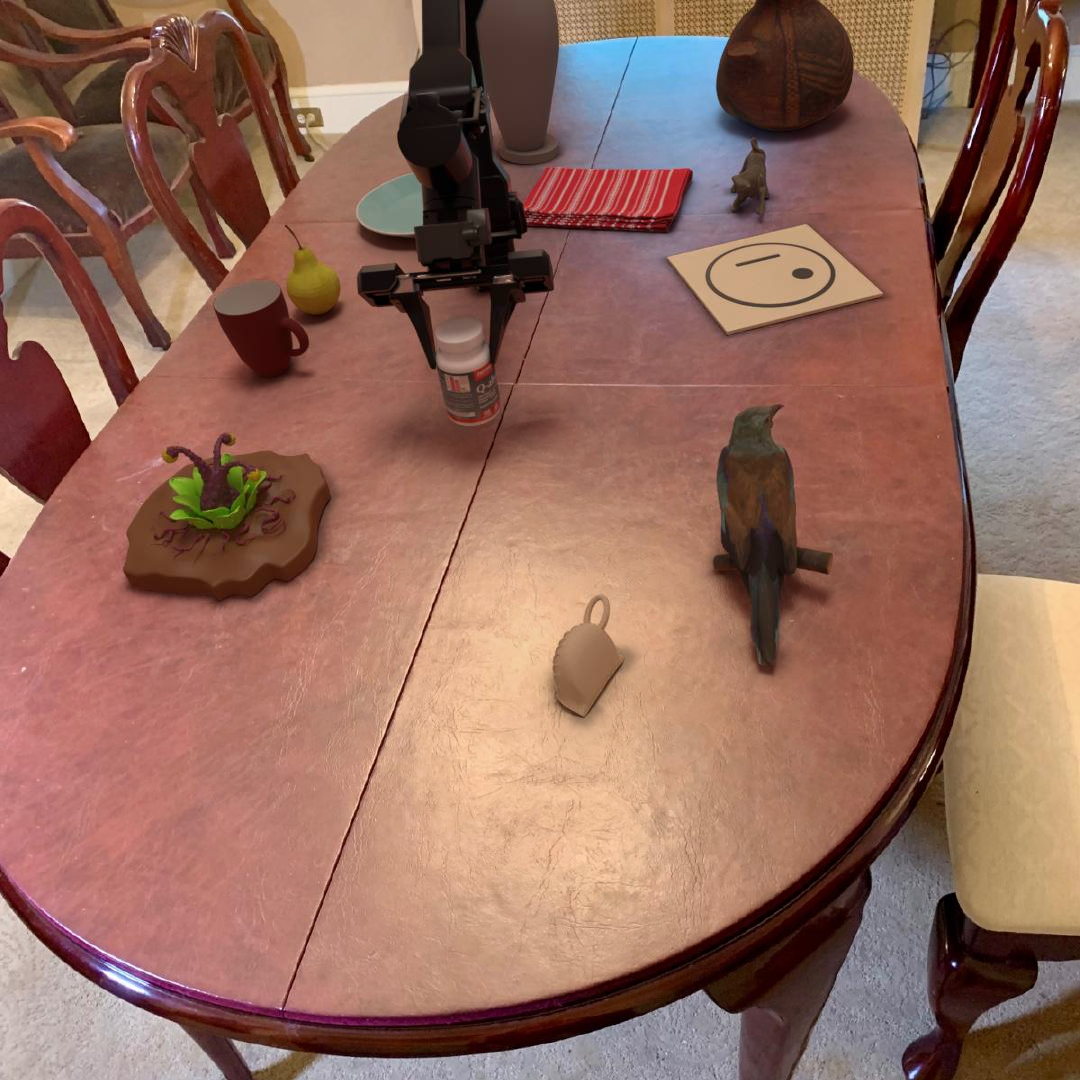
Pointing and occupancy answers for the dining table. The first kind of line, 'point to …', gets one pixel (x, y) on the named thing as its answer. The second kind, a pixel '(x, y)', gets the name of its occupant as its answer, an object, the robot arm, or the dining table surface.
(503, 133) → the vase
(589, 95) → the dining table surface
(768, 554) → the bird figurine
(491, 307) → the robot arm
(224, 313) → the mug
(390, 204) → the plate
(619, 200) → the dish towel
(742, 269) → the board
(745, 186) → the dog figurine
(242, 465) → the plant
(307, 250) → the fruit
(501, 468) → the dining table surface
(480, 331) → the pill bottle
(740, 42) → the jug
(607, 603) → the decorative ornament
